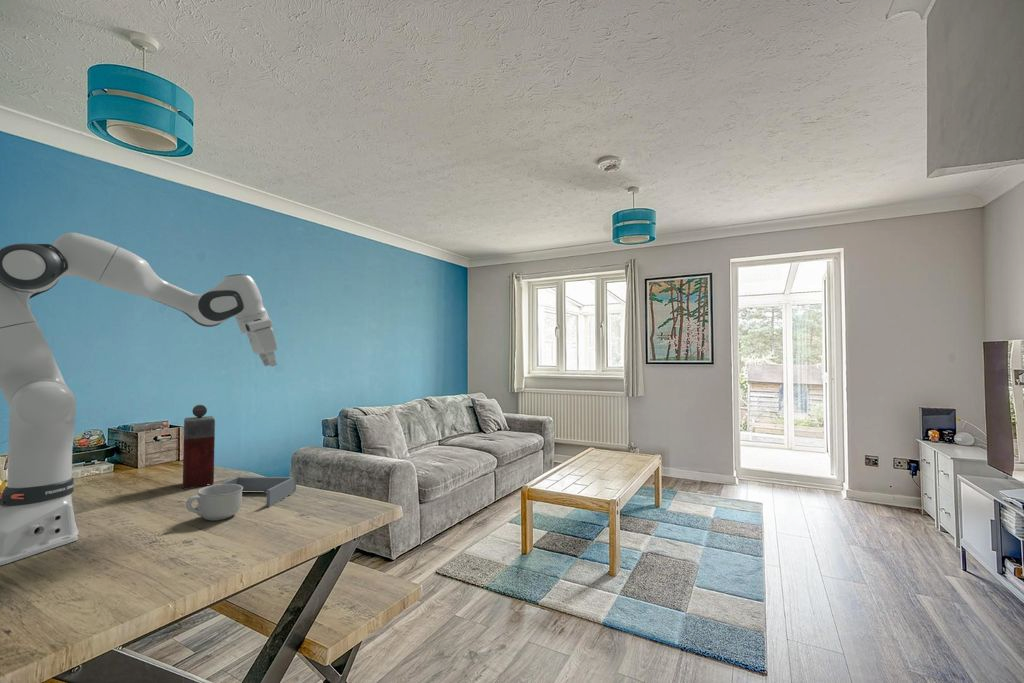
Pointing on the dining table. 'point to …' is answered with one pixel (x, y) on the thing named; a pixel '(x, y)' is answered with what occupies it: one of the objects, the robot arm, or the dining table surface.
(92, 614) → the dining table surface
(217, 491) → the teacup
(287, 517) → the dining table surface
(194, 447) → the dark red piece
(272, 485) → the box
